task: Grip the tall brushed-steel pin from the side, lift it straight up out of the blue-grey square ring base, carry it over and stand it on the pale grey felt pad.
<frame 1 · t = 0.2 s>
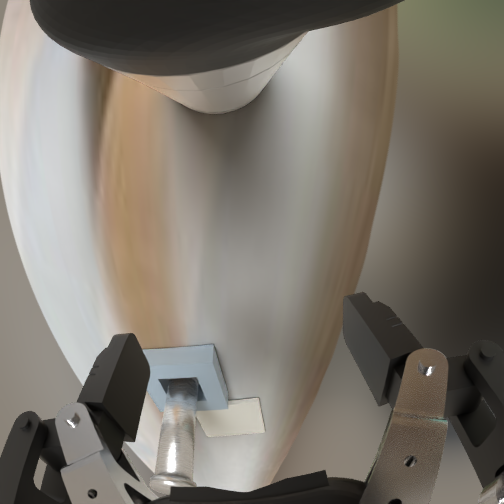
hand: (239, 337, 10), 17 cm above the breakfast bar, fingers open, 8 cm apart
felt pad: (230, 417, 39), on the breakfast bar
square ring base: (185, 373, 34), on the breakfast bar
steel pin: (185, 373, 34), resting in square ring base
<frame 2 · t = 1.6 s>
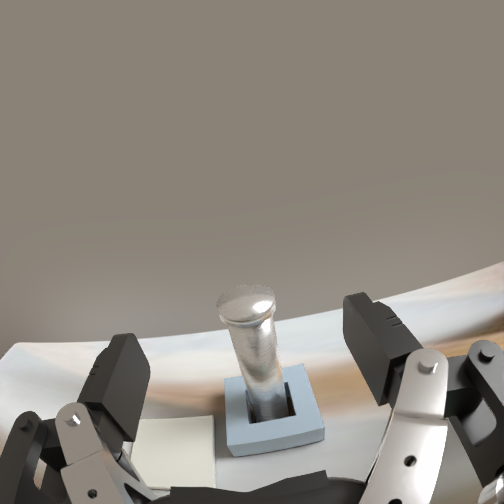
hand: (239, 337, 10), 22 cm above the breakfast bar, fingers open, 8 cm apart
felt pad: (172, 453, 25), on the breakfast bar
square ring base: (272, 416, 29), on the breakfast bar
steel pin: (272, 416, 29), resting in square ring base
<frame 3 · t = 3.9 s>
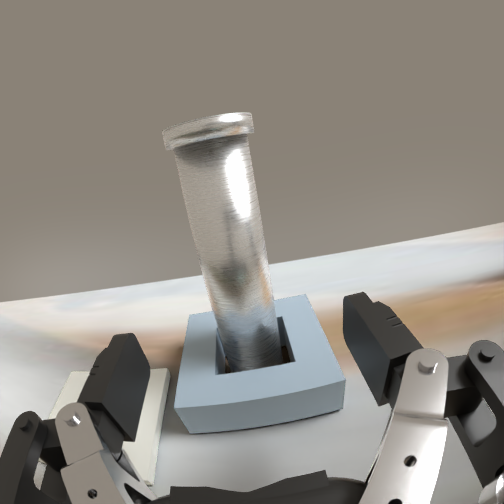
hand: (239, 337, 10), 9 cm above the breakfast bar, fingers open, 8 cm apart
felt pad: (102, 421, 16), on the breakfast bar
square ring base: (258, 372, 20), on the breakfast bar
steel pin: (258, 372, 20), resting in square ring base
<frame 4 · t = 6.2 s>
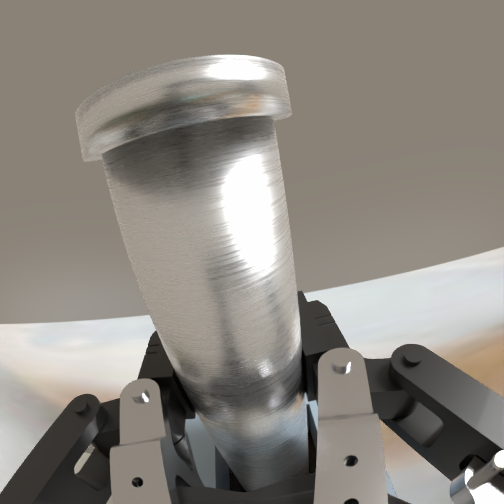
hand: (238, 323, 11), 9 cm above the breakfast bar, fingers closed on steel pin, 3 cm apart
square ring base: (274, 472, 12), on the breakfast bar
steel pin: (274, 472, 12), resting in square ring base, touching gripper
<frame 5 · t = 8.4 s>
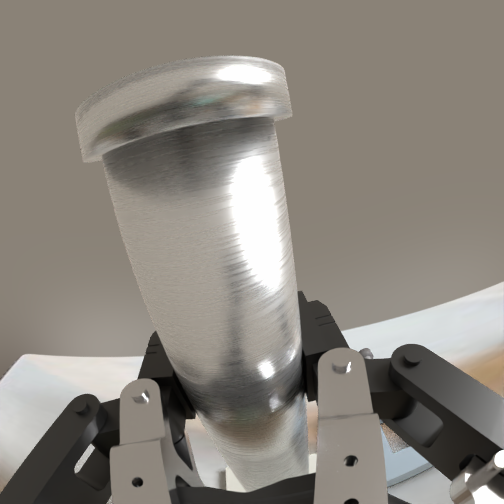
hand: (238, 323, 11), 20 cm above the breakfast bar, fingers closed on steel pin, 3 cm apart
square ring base: (400, 437, 20), on the breakfast bar
steel pin: (274, 473, 12), point 11 cm above the breakfast bar, touching gripper
when the fingers open (10 cm above the breakfast bar, at t = 10.6 s): steel pin stays where it is, resting on felt pad.
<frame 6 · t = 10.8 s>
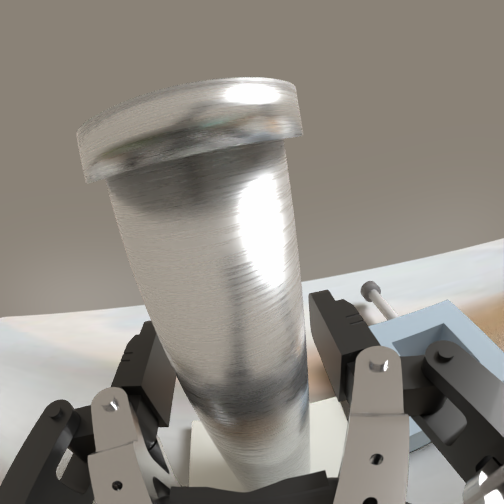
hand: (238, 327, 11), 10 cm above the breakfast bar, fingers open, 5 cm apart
felt pad: (275, 479, 12), on the breakfast bar
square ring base: (426, 381, 16), on the breakfast bar
steel pin: (276, 477, 12), point 1 cm above the breakfast bar, touching felt pad
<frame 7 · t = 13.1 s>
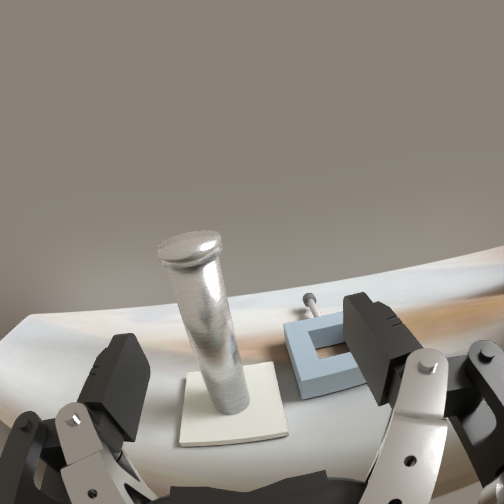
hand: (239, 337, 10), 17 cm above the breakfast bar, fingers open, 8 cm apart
felt pad: (232, 404, 26), on the breakfast bar
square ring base: (334, 358, 30), on the breakfast bar
steel pin: (231, 400, 25), point 1 cm above the breakfast bar, touching felt pad
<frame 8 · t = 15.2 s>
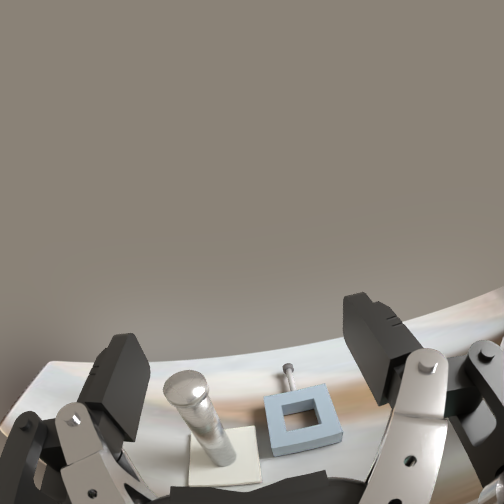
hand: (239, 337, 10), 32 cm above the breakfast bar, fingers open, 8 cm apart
felt pad: (224, 457, 32), on the breakfast bar
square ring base: (301, 424, 36), on the breakfast bar
steel pin: (223, 456, 32), point 1 cm above the breakfast bar, touching felt pad
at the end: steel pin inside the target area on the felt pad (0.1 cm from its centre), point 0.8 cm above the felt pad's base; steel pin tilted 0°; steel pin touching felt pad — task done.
